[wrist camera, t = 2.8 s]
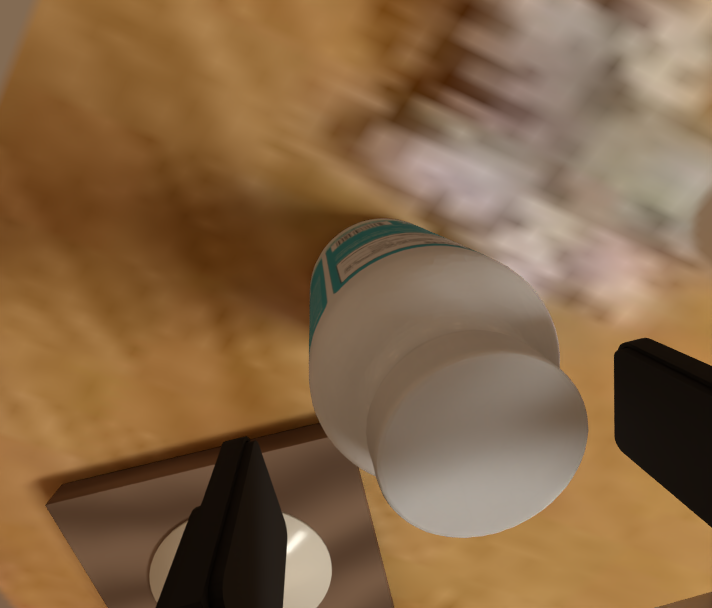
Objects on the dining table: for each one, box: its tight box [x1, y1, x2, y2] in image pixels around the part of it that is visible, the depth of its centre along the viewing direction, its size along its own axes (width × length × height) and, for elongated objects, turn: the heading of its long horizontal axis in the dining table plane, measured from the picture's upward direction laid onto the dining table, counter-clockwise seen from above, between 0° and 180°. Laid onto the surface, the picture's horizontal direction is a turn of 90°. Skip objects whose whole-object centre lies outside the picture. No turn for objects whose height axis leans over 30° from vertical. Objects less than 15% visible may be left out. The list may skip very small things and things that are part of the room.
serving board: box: [45, 423, 394, 608], centre depth 25 cm, size 17×17×2 cm
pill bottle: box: [309, 218, 588, 538], centre depth 14 cm, size 8×7×14 cm
